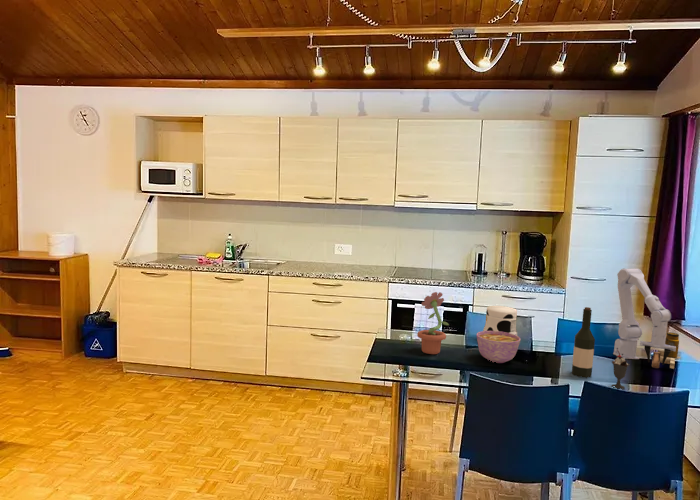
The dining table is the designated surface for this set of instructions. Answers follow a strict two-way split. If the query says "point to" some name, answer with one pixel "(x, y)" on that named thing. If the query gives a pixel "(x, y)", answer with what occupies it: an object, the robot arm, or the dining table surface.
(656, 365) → the copper peg
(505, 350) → the bowl of food
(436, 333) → the decorative flower
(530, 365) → the dining table surface
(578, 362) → the wine bottle
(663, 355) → the bobbin
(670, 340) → the condiment
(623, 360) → the sundae
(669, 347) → the robot arm
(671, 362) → the notched board
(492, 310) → the milk container
